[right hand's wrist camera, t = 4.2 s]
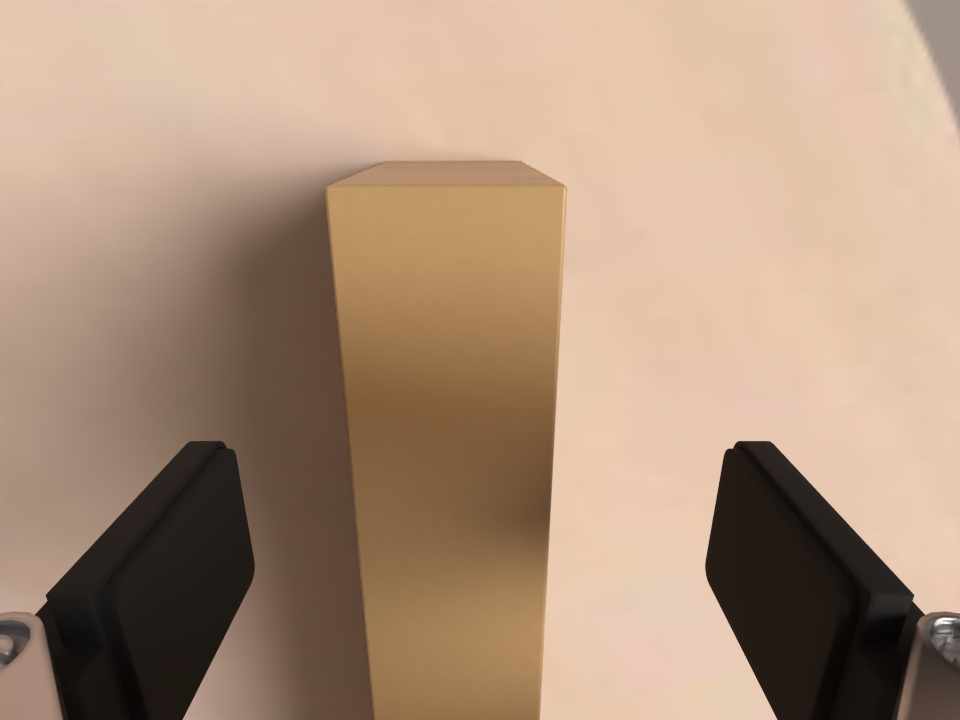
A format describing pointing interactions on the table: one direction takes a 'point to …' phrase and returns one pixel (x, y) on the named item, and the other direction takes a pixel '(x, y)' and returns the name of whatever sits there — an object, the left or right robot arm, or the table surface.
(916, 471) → the table surface
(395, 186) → the beam
